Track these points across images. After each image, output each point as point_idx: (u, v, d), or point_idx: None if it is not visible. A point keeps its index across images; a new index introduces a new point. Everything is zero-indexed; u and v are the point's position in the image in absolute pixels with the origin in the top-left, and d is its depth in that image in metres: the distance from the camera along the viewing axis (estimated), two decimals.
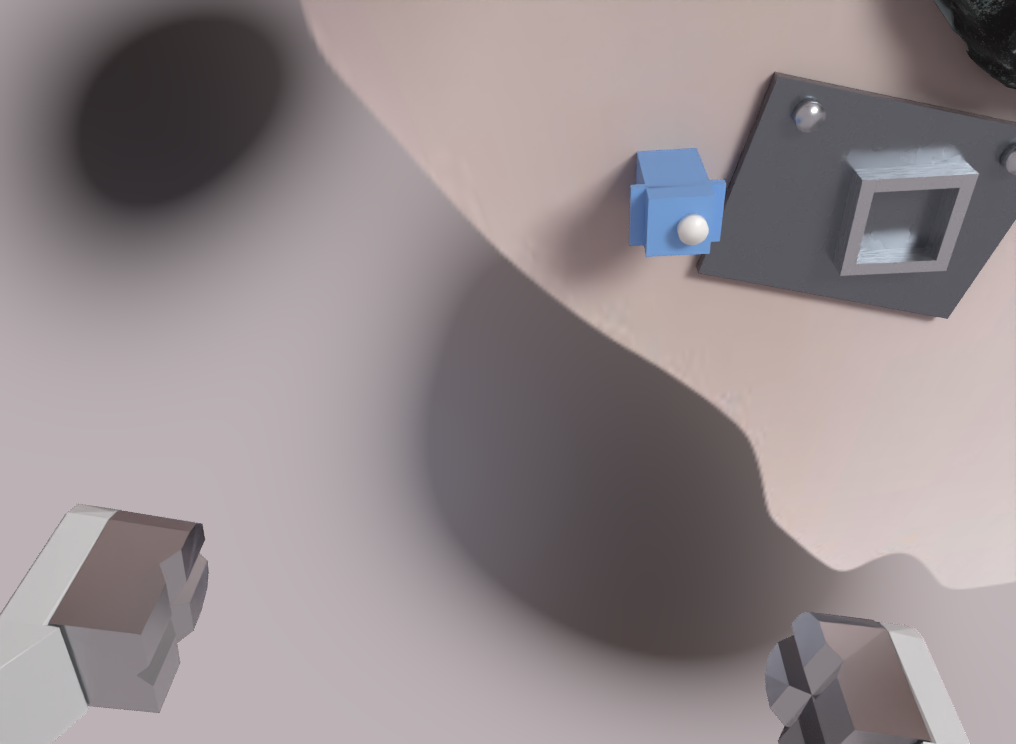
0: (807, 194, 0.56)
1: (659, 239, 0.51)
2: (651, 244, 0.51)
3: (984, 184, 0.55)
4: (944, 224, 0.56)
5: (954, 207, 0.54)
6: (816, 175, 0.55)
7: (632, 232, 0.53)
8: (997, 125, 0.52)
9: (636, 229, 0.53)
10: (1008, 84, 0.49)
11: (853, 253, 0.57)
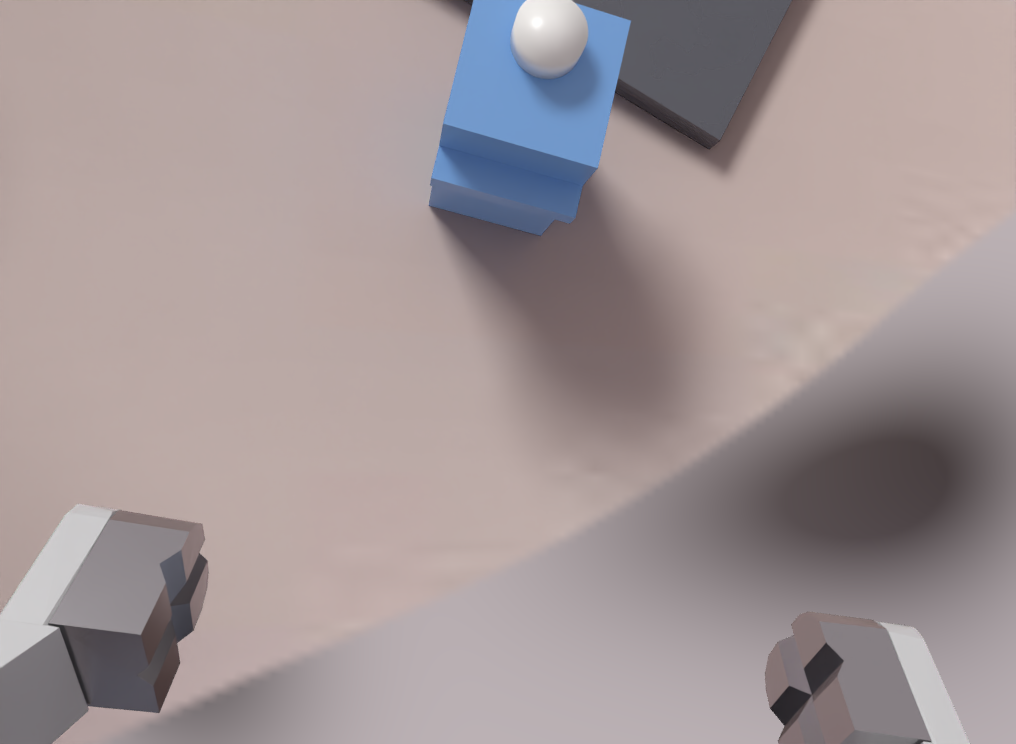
0: None
1: (559, 125, 0.20)
2: (567, 147, 0.20)
3: None
4: None
5: None
6: None
7: (541, 203, 0.22)
8: None
9: (537, 192, 0.22)
10: None
11: None
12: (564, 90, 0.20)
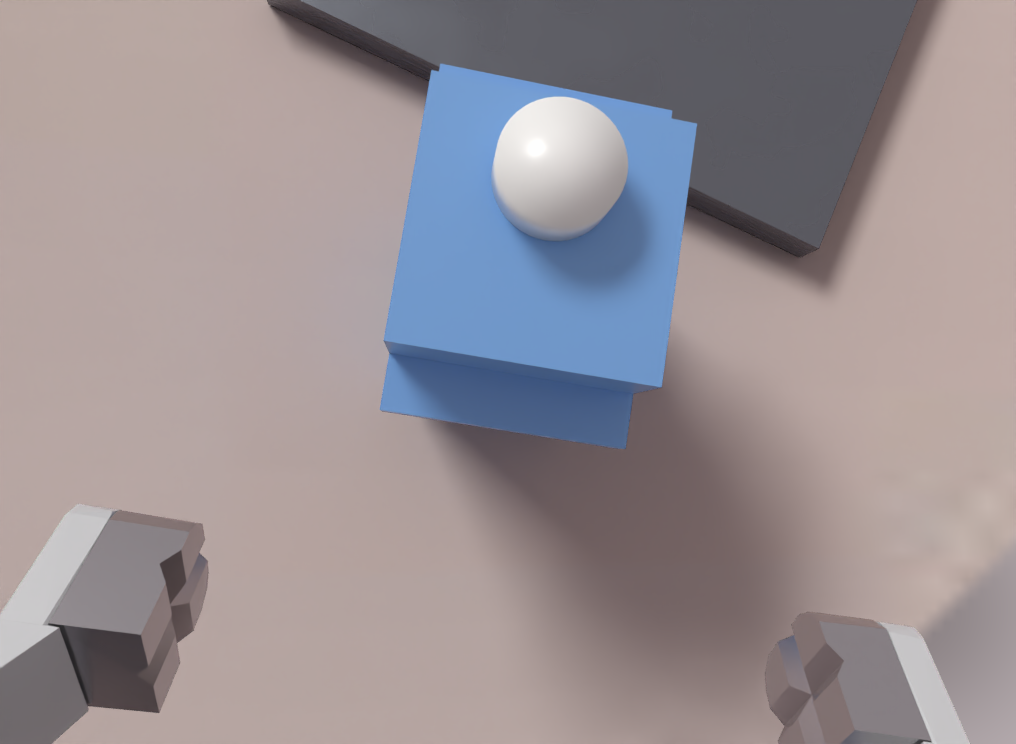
0: None
1: (588, 319, 0.12)
2: (605, 356, 0.12)
3: None
4: None
5: None
6: None
7: (567, 430, 0.13)
8: None
9: (558, 412, 0.13)
10: None
11: None
12: (592, 257, 0.12)
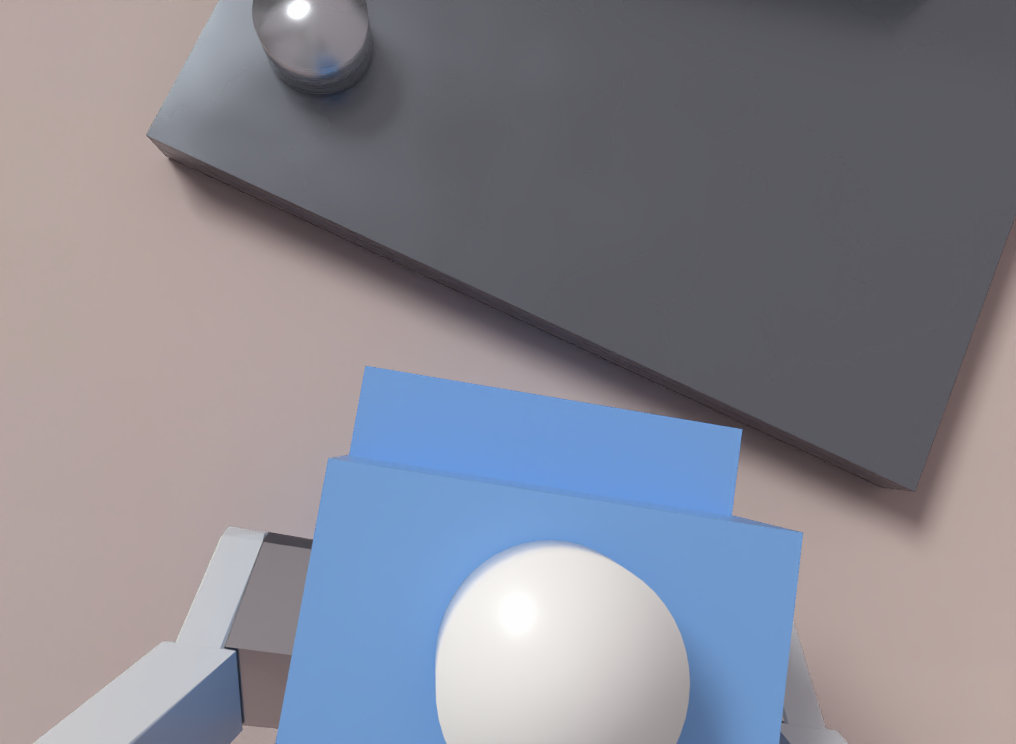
0: (645, 58, 0.15)
1: None
2: None
3: None
4: None
5: None
6: (575, 22, 0.15)
7: None
8: None
9: None
10: None
11: None
12: None
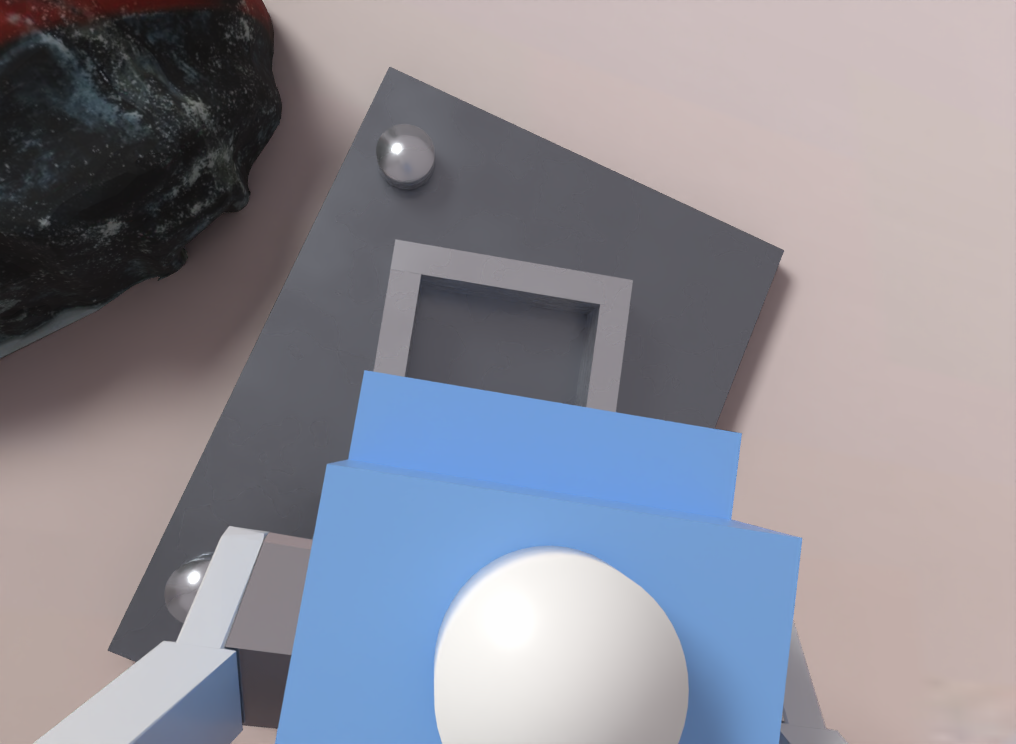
0: None
1: None
2: None
3: (459, 212, 0.26)
4: (515, 293, 0.25)
5: (468, 280, 0.24)
6: None
7: None
8: (329, 205, 0.26)
9: None
10: (196, 214, 0.24)
11: None
12: None
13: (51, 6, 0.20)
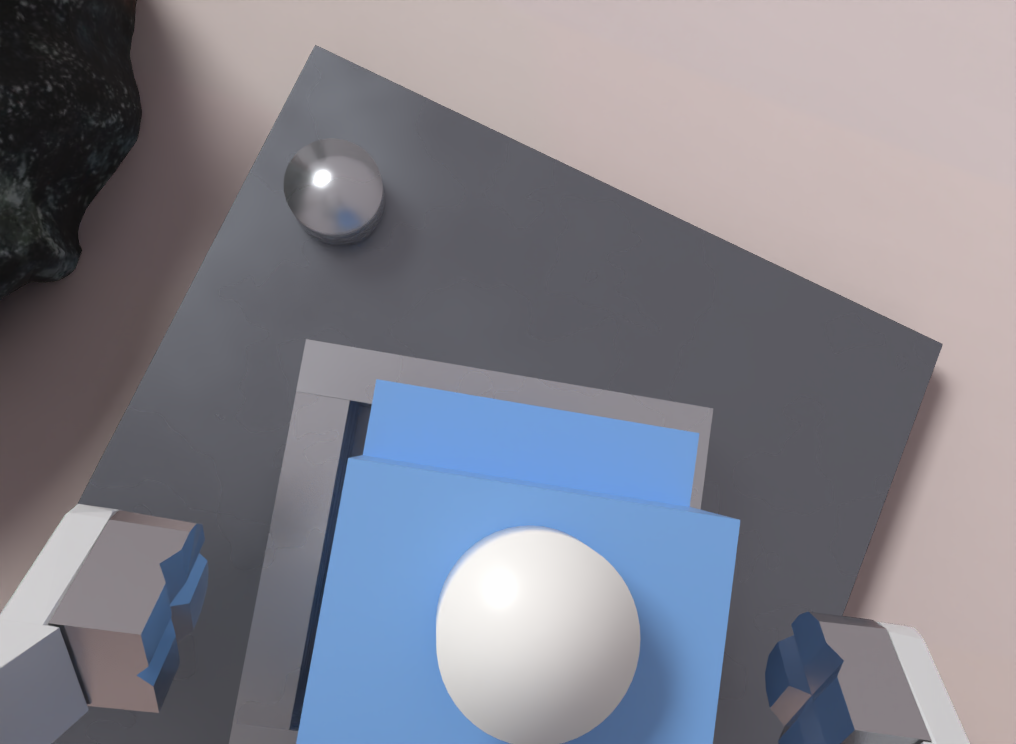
0: None
1: None
2: None
3: (423, 282, 0.16)
4: None
5: None
6: None
7: None
8: (209, 270, 0.16)
9: None
10: None
11: None
12: (586, 737, 0.08)
13: None
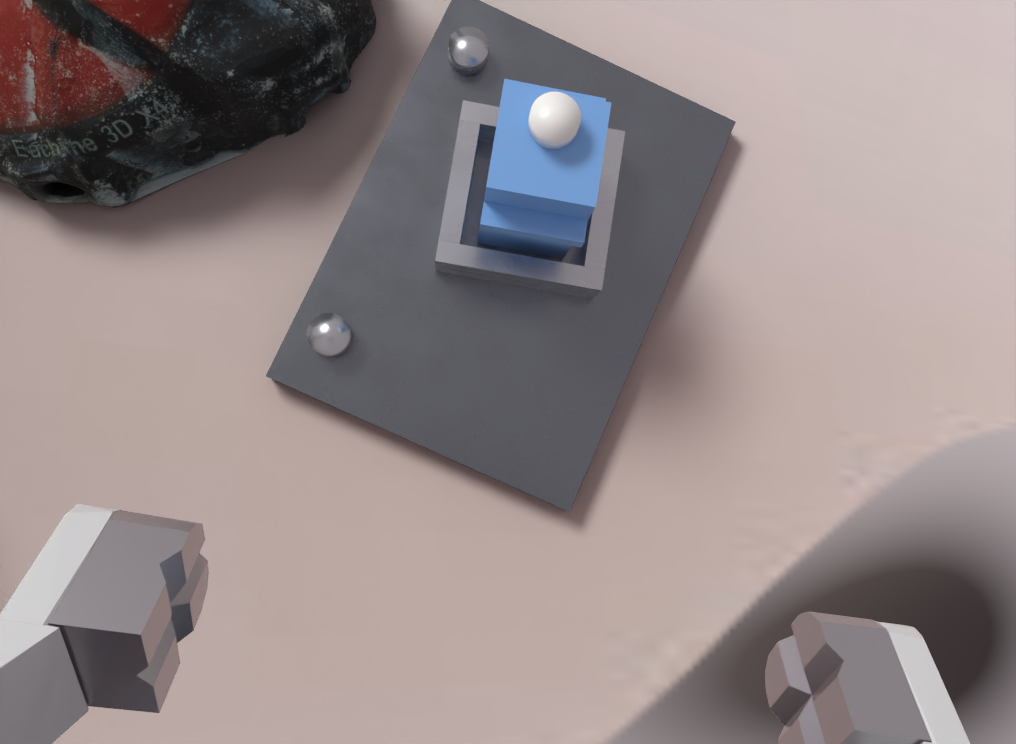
0: (462, 337, 0.36)
1: (566, 180, 0.29)
2: (573, 194, 0.29)
3: None
4: None
5: None
6: (433, 323, 0.36)
7: (559, 234, 0.31)
8: (414, 84, 0.37)
9: (555, 227, 0.31)
10: (319, 85, 0.35)
11: (563, 270, 0.35)
12: (568, 155, 0.29)
13: None
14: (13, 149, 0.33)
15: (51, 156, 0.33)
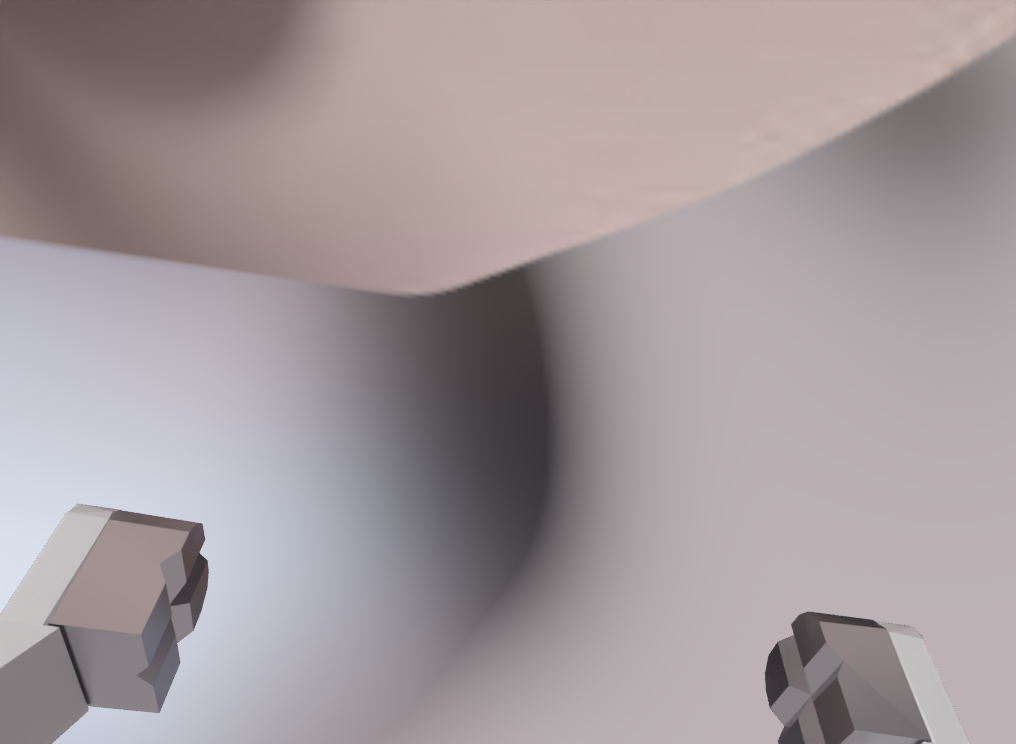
0: None
1: None
2: None
3: None
4: None
5: None
6: None
7: None
8: None
9: None
10: None
11: None
12: None
13: None
14: None
15: None
